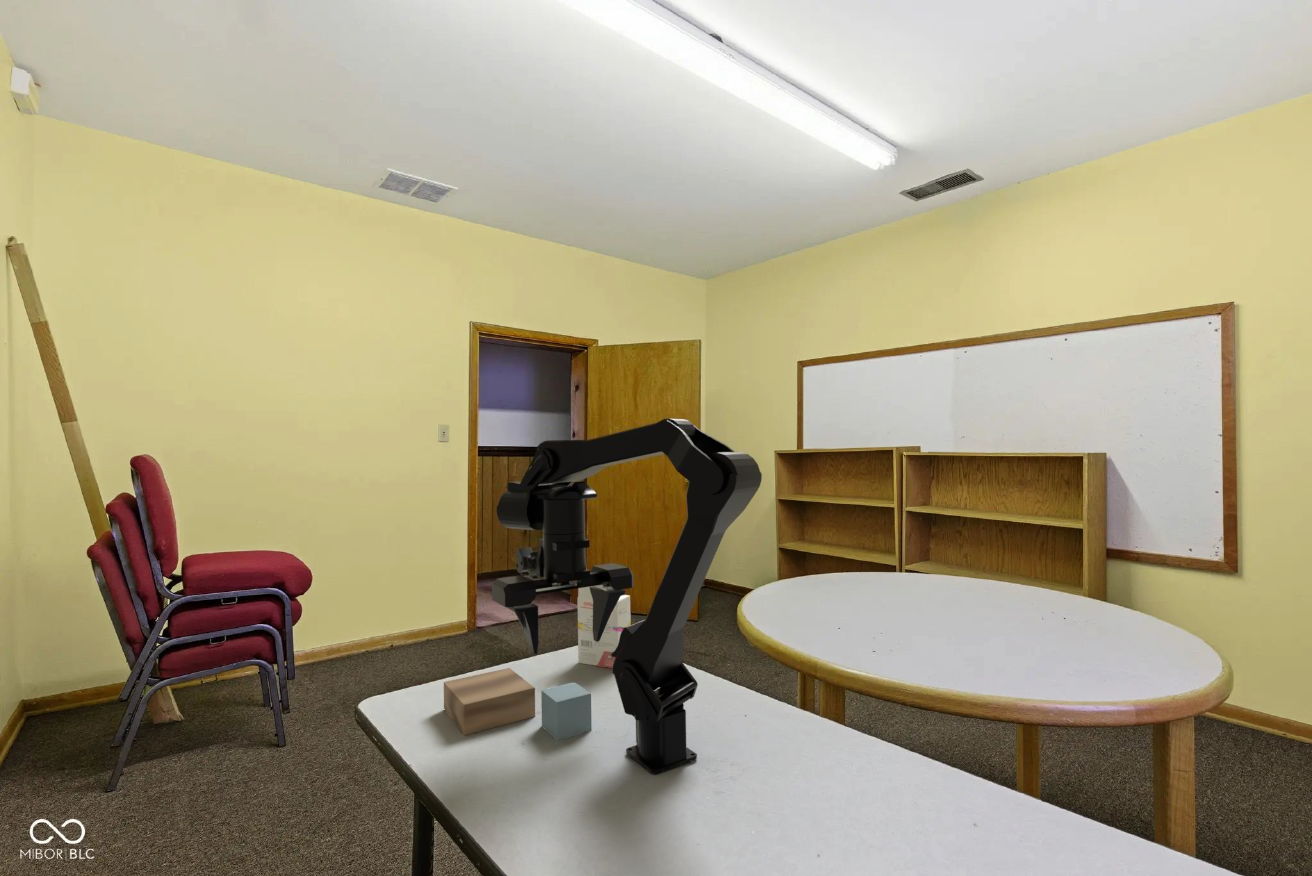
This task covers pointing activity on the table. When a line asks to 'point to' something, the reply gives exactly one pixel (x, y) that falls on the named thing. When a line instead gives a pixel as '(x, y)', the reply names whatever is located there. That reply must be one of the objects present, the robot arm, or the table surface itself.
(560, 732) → the slate block
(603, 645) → the ink cartridge box
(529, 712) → the walnut block
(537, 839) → the table surface
